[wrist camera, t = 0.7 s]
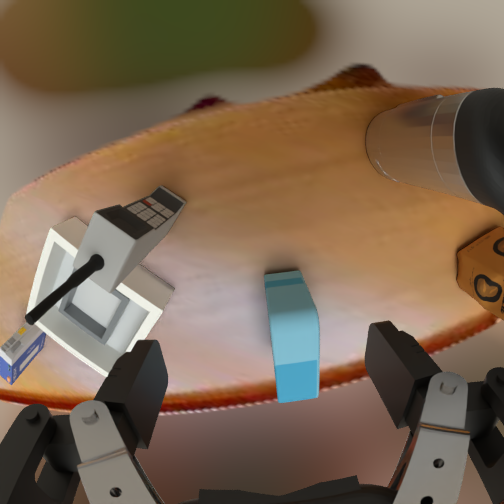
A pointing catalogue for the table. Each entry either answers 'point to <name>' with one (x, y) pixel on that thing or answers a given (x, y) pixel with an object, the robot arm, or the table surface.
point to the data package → (293, 336)
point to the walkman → (20, 351)
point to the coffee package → (484, 271)
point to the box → (94, 303)
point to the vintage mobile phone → (117, 244)
